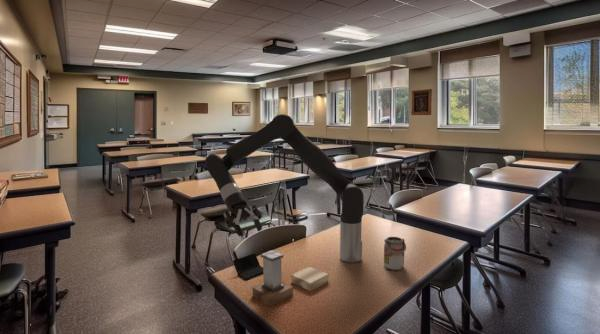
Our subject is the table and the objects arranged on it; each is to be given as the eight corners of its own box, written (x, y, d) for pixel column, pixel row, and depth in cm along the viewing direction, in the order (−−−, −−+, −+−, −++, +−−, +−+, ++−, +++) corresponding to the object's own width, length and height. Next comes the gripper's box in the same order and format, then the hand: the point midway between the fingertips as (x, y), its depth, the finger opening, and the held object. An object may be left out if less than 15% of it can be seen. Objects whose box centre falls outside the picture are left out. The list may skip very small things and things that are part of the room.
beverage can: (408, 272, 134) (409, 243, 133) (387, 272, 134) (388, 244, 132) (400, 262, 144) (400, 235, 142) (380, 263, 143) (381, 236, 141)
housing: (261, 286, 117) (260, 254, 116) (272, 281, 121) (271, 250, 119) (272, 292, 113) (272, 258, 112) (283, 287, 117) (283, 254, 115)
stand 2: (291, 282, 127) (291, 274, 127) (309, 273, 134) (309, 266, 134) (310, 291, 120) (310, 283, 120) (328, 281, 127) (328, 274, 127)
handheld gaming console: (249, 278, 127) (240, 253, 131) (238, 285, 131) (230, 261, 134) (270, 271, 136) (261, 249, 140) (259, 278, 140) (251, 256, 144)
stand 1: (252, 295, 117) (252, 287, 117) (274, 285, 124) (274, 277, 124) (271, 306, 110) (271, 297, 110) (293, 294, 118) (292, 286, 117)
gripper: (220, 194, 123) (239, 231, 116) (251, 189, 133) (270, 223, 126) (213, 205, 127) (230, 242, 121) (244, 199, 137) (262, 233, 131)
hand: (251, 232), depth 124 cm, fingers open, 8 cm apart
